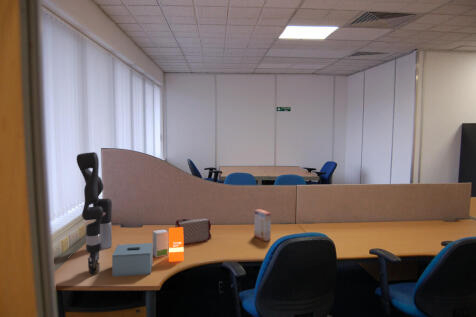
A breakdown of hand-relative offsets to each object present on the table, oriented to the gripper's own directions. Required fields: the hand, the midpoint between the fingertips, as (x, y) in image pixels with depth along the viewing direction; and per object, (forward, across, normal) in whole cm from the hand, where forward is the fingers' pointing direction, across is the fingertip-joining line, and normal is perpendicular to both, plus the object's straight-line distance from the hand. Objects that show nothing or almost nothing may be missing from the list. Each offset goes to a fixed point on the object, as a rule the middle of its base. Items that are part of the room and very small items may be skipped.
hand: (94, 271), depth 174 cm
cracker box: (+1, -41, +109) cm, 116 cm away
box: (+1, -1, +21) cm, 21 cm away
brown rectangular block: (+1, 0, 0) cm, 1 cm away
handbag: (+1, -43, +58) cm, 72 cm away
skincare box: (+1, -20, +35) cm, 40 cm away
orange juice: (+1, -12, +45) cm, 47 cm away
